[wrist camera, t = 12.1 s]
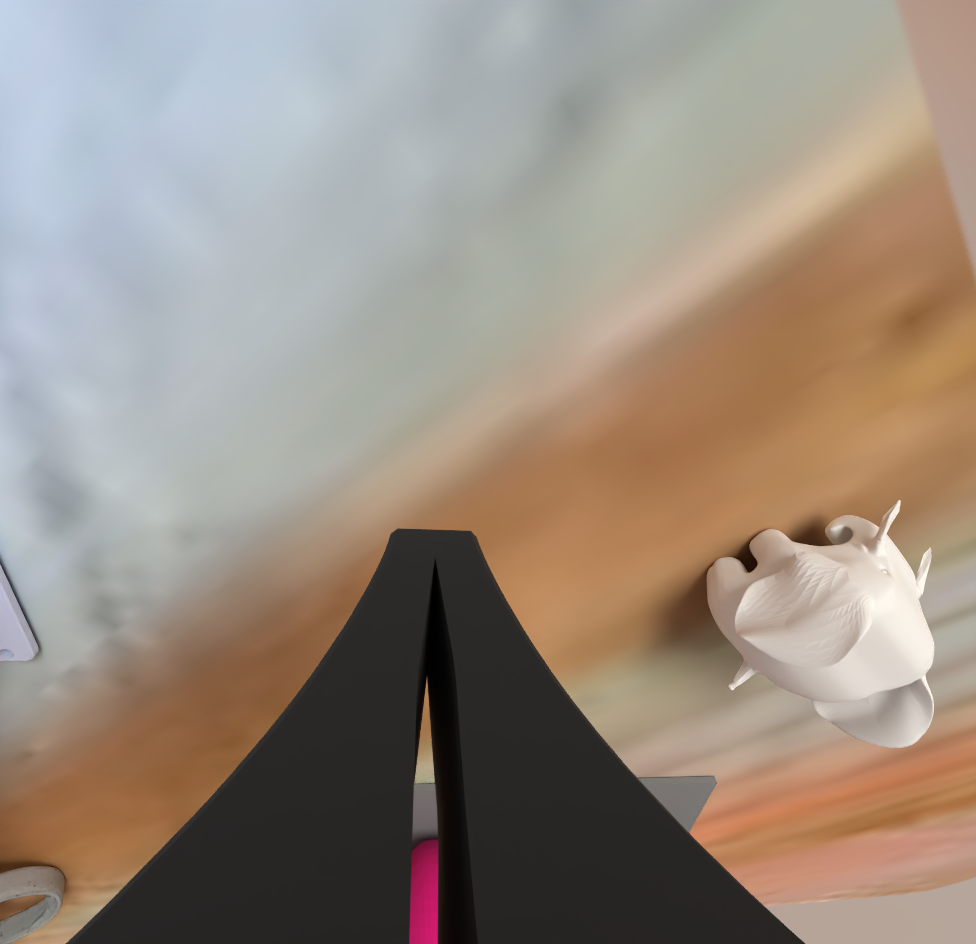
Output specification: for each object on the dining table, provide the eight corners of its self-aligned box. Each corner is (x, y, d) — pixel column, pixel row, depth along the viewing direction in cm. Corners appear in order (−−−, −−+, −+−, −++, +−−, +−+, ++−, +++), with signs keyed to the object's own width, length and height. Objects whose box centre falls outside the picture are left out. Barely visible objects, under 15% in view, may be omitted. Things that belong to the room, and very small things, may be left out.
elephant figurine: (912, 544, 24) (1070, 676, 18) (730, 654, 27) (814, 798, 21) (844, 440, 21) (1008, 557, 15) (645, 577, 24) (716, 721, 18)
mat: (383, 897, 38) (382, 904, 37) (384, 784, 31) (383, 792, 30) (655, 883, 40) (656, 889, 40) (713, 776, 33) (716, 782, 33)
